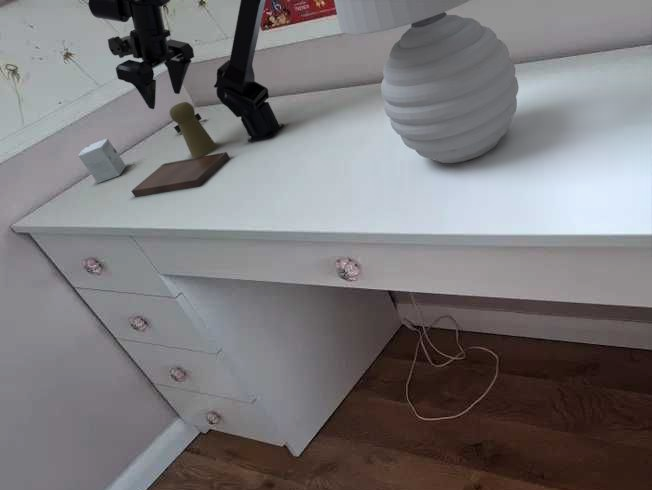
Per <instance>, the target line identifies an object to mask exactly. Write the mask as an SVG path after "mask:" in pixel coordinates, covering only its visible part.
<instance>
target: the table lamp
mask: <svg viewBox="0 0 652 490" xmlns="http://www.w3.org/2000/svg"><path fill="white" fill-rule="evenodd" d="M470 1H471V0H333V3H334V7H335V11H336V16H337V21H338V26H339V30H340V32H342V33H343V34H346V35H359V36H360V35H366V34H367V35H368V34H369V35H370V34H374V33H379V32H385V31H389V30H393V29H397V28H401V27H404V26H408V25H410V28H408V29H407V30H406V31H405V32H404V33H402V35H401V37H400V39H399V40H397V41H396V42H395V43H394V44H393V45H392V47H391V49H390V52H389V58H388V59H387V60H386V61H385V63H384V65H383V71H382V75H383V79H382V81H381V84H380V93H381V96H382V98H383V99H384V102H383V106H384V107H383V108H384V111H385V114H386V116H387V117H389V121H390V126H391V128H392V129H393V130H394V132H395V133H396V134H397V135H399V137H400V139H401V141H402V142H403V143H404V145H405V146H406V147H407V148H410V149H411V150H414V151H415V152H416V153H417V154H418V155H419V156H421V157H423V158H425V159H429V160H433V161H436V162H438V163H442V164H455V163H463V162H467V161H469V160H473V159H475V158H479V157H481V156H483V155H484V154H486V153H488V152H489V151H491V150H492V149H493V148H494V147H496V146H497V144H499V142H500V140H501V138H503V136H504V135H506V133H507V132H508V130H509V129H510V127H511V125H512V120H513V117H514V115H515V114H516V112H517V108H518V99H517V95H518V93H519V88H520V87H519V82H518V79H517V77H516V67H515V66H516V65H515V64H514V61H513V59H512V58H510V51H509V48H508V45H507V44H506V43H505V42H504V41H503V40H501V39H499V38H498V36H497V34H496V33H495V32H494V31H493V29H491V28H490V27H488V26H484V25H481V23H480V22H479V21H478V20H476V19H475V18H473V17H462V16H460V15H458V14H448V13H446V12H448V11H451V10H453V9H455V8H458V7H460V6H462V5H464V4H466V3H468V2H470Z"/></svg>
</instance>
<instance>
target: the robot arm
mask: <svg viewBox="0 0 652 490" xmlns="http://www.w3.org/2000/svg"><path fill="white" fill-rule="evenodd" d="M170 2H171V0H88V2H87V4H88V5H87V6H88V9H89V11H90V13H91V15H92V16H93V17H94V18H97V19H101V20H108V21H113V22H114V21H115V22H120V23H127V22H129V20H130V18H131V20H132V24H133V25H132V26H133V29H132V30H130V32H129V35H126V36H122V37H120V36H119V35H117V36H112V37H111V38H108V39H107V44H108V48H109V51H110V53H111V54H112V55H113V56H118V58H119V59H123V58H124V57H126V56H127V57H128V56H132V58H133V59H141V61H137V60H132V59H127V60H125V61H122V62H121V63H119V64H118V65H117V66H116V67H115V73H116V77H117V79H118V80H120V81H124V82H126V83H129V84H131V85H132V86H133V87H135V90H137V91H138V93H139V94H140V96H141V98H142V100H143V101H144V103H145V104H146V105H147V107H148V108H149V109H150V110H154V109H156V95H157V94H156V93H157V92H156V91H157V80H156V79H154V78H155V72H154V69H156V68H158V67H160V66H161V65H164V66H165V67H166V69H167V72H168V75H169V76H168V77H169V80H170V83H171V88H172V91H173V93H174V94H176V95H180V93H181V91H182V86H183V84H184V80H185V77H186V74H187V72H188V69H189V66H190V64H191V63H192V59H194V58H195V51H194V48H193V47H192V46H191V44H190V43H189V42H186V41H180V40H176V39H171V38H169V39H168V37H170V36H171V30H170V29H166V28H165V23H164V17H163V13H162V8H161V7H164V6H165V5H167V4H169V3H170ZM265 5H266V0H240V4H239V8H238V13H237V19H236V25H235V30H234V36H233V41H232V45H231V46H232V47H231V52H230V58H229V59H228V60H226V61H225V62H224V63H223V64H222V65H220V66H219V67H218V68H217V70H216V81H215V84H214V85H213V88H216V91H215V93H216V98H218V99H219V101H220V102H221V103H222V104H223V105H224V106H225V107H226V108H228V110H230V112H231V113H232V114H233V115H234V116H235V117H236V118H240V121H241V123H242V125H243V127H244V129H245V131H246V132H247V134H248V136H249V138H248V139H247V142H248V143H252V142H257V141H262V140H263V141H264V140H267V139H272V138H273V137H274V136H276V134H277V133H278V132H279V131H280V130H282V128H283V127H284V126H285V124H284V123H283V122H282V123H279V122H278V119H277V116H276V115H275V113H274V111H273V109H272V107H271V105H270V103H269V101H267V100H268V99H269V98H270V94H269V88H268V87H266V86H264V85H263V84H260V83H259V82H257V81H256V80H255V79H256V76H255V71H254V67H253V63H254V57H255V54H256V48H257V44H258V38H259V34H260V29H261V23H262V19H263V16H264V15H263V14H264V10H265Z"/></svg>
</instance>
